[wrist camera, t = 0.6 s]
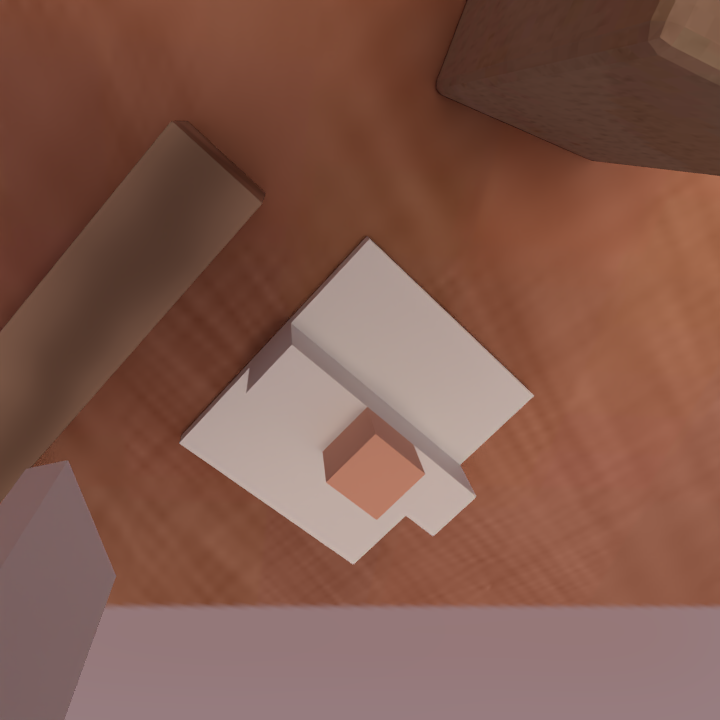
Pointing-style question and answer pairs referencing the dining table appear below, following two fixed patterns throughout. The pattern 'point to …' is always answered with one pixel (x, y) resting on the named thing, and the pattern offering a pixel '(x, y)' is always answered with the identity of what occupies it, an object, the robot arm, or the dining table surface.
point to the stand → (360, 409)
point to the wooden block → (596, 76)
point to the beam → (115, 287)
